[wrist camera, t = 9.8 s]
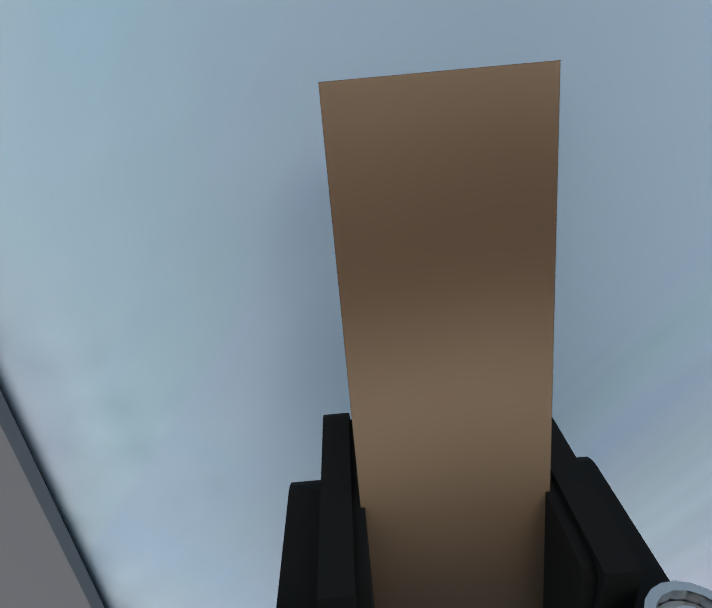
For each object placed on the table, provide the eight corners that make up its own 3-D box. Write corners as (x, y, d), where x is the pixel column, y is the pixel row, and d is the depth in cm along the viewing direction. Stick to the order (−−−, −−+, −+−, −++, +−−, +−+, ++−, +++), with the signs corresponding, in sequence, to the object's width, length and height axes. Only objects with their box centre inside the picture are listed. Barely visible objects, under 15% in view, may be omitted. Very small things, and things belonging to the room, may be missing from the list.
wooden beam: (254, 118, 10) (197, 92, 6) (553, 90, 10) (682, 48, 6) (339, 754, 15) (338, 956, 11) (539, 737, 15) (606, 935, 11)
